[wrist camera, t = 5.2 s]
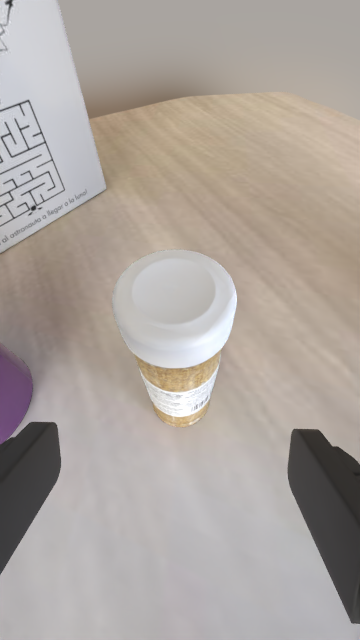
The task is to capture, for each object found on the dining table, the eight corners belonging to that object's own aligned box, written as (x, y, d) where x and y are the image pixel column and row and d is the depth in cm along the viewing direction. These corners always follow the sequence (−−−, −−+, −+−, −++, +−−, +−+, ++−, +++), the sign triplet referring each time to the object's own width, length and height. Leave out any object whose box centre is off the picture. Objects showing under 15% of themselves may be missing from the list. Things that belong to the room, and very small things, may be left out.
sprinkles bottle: (187, 360, 22) (189, 229, 11) (221, 406, 20) (267, 300, 9) (140, 391, 21) (87, 276, 10) (172, 442, 19) (151, 374, 8)
